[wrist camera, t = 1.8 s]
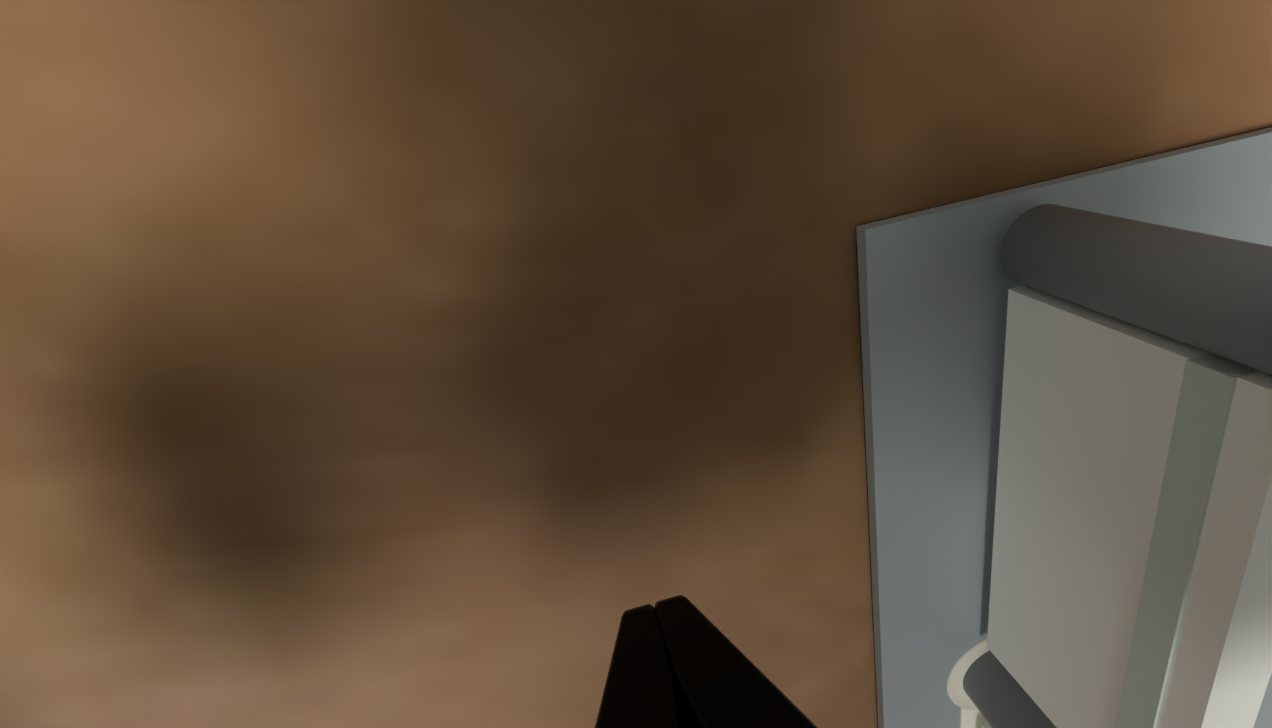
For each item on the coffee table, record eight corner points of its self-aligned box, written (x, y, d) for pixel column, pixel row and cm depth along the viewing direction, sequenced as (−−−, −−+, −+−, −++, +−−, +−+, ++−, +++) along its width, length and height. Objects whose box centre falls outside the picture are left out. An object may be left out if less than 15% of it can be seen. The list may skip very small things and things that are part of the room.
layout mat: (1310, 794, 22) (1322, 804, 22) (887, 940, 21) (893, 953, 20) (1626, 42, 12) (1655, 41, 12) (856, 226, 11) (867, 230, 11)
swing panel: (1033, 632, 15) (1252, 857, 11) (979, 649, 15) (1177, 883, 10) (1077, 195, 11) (1479, 263, 6) (1002, 213, 11) (1356, 297, 6)
